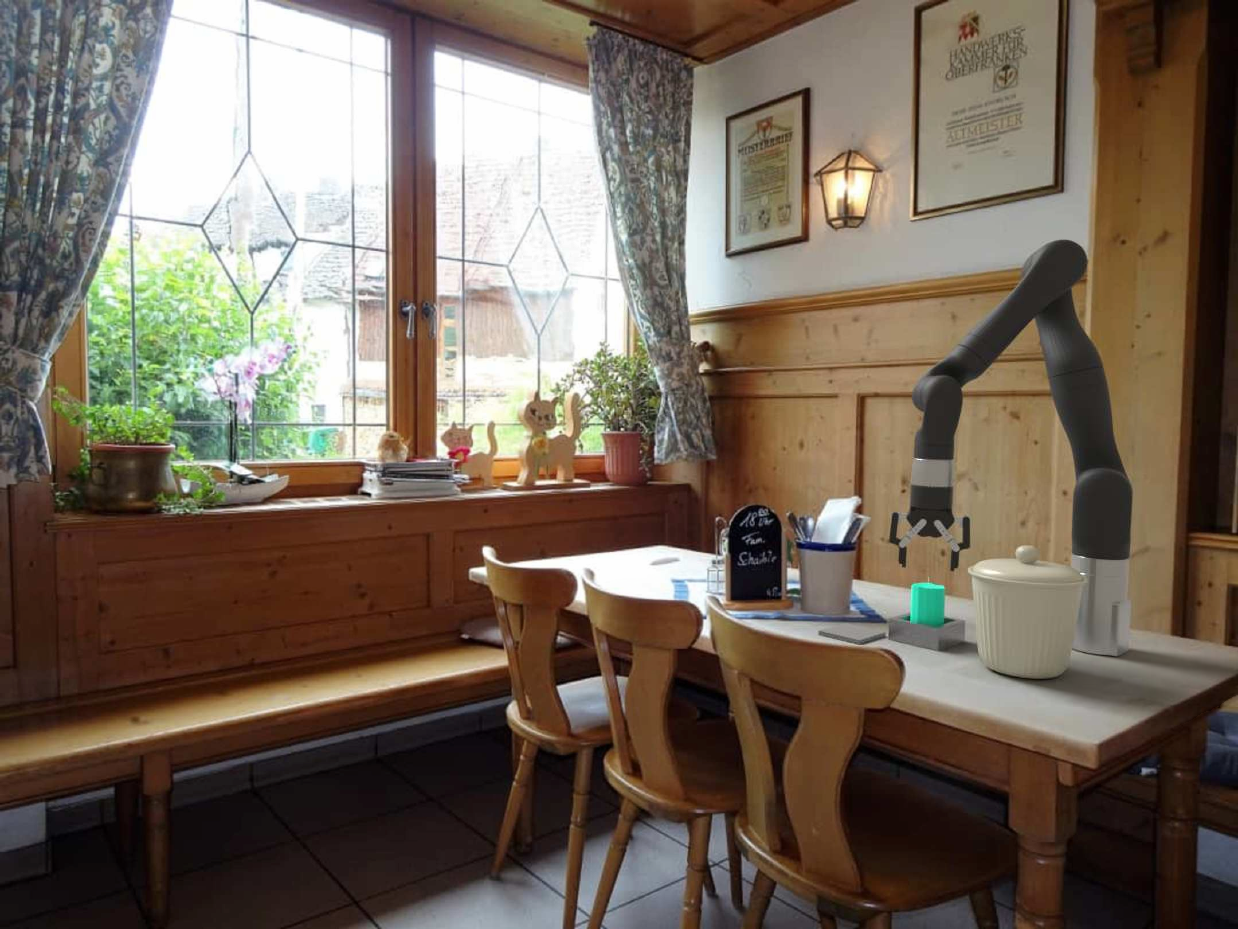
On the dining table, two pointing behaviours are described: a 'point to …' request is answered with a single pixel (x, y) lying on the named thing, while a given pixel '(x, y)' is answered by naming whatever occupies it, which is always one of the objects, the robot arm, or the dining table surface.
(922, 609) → the candle
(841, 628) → the coaster
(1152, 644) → the dining table surface
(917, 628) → the grey open box
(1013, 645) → the canister
